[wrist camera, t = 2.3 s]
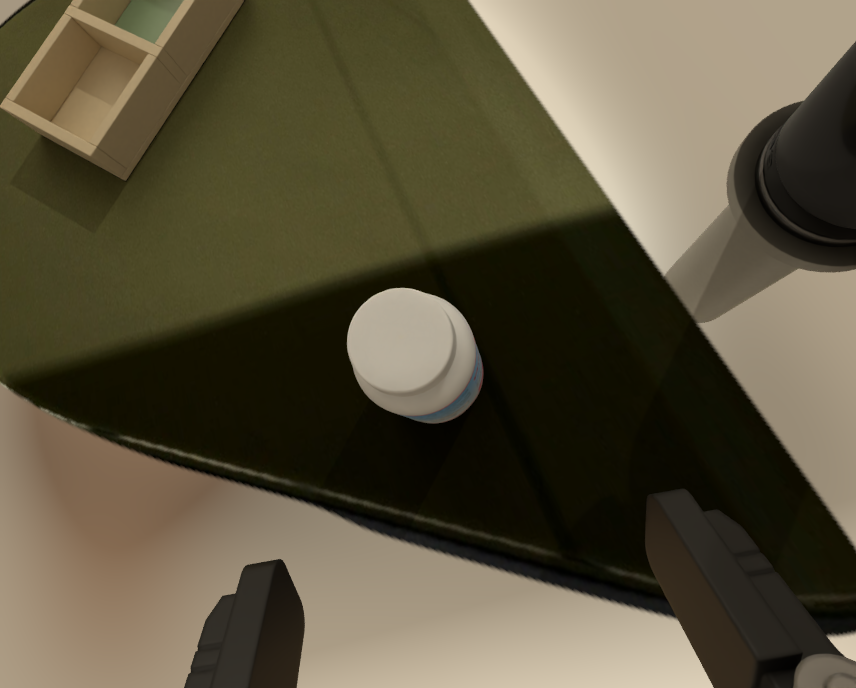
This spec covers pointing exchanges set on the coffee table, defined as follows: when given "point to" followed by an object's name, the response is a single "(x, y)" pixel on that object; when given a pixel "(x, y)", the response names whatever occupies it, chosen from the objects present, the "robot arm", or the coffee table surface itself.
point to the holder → (116, 74)
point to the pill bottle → (415, 355)
